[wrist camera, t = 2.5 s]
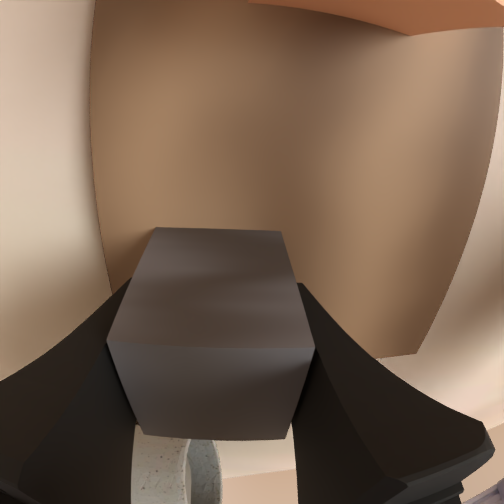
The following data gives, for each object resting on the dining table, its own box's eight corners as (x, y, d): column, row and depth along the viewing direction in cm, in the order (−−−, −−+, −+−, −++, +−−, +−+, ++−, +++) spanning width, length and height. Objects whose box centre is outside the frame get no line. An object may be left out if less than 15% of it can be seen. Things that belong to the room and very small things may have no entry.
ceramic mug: (78, 403, 17) (53, 502, 10) (190, 400, 16) (184, 526, 10) (147, 463, 22) (140, 536, 15) (235, 461, 22) (239, 542, 15)
